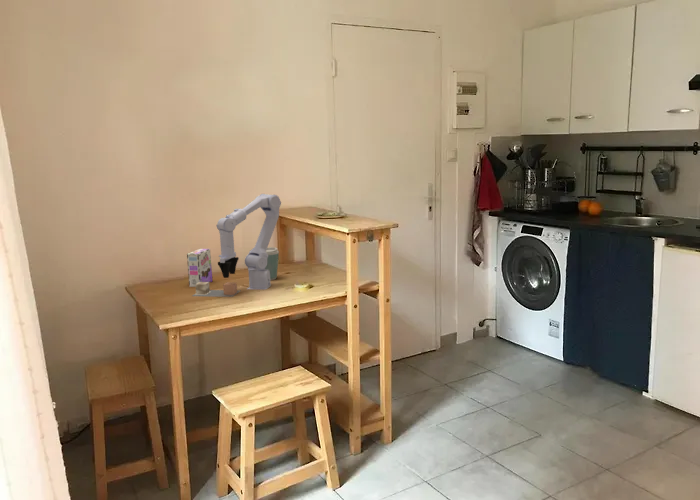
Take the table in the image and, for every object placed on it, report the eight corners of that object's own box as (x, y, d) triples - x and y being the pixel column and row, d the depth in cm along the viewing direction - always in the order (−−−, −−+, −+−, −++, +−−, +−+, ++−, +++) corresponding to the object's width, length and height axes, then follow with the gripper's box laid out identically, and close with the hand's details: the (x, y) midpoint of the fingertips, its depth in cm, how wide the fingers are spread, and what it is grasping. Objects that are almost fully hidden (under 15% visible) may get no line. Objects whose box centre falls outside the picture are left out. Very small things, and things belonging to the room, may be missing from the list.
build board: (241, 291, 266) (241, 290, 266) (232, 298, 255) (232, 296, 255) (201, 291, 269) (201, 289, 269) (191, 297, 258) (191, 296, 258)
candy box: (200, 288, 275) (197, 253, 272) (188, 287, 276) (186, 253, 273) (213, 281, 288) (210, 248, 285) (201, 281, 289) (199, 248, 286)
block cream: (209, 291, 265) (209, 282, 264) (205, 294, 260) (205, 284, 260) (200, 291, 266) (199, 281, 265) (196, 294, 261) (195, 284, 260)
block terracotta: (237, 292, 263) (236, 282, 262) (233, 294, 258) (232, 284, 258) (227, 292, 263) (226, 282, 263) (223, 294, 259) (223, 284, 258)
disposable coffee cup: (271, 282, 282) (269, 251, 280) (254, 279, 288) (252, 249, 285) (284, 277, 291) (283, 247, 289) (267, 275, 297) (266, 246, 294)
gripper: (224, 242, 265) (226, 271, 267) (212, 248, 251) (214, 279, 253) (239, 242, 263) (241, 272, 266) (228, 248, 249) (230, 279, 252)
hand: (229, 275), depth 259 cm, fingers open, 7 cm apart
